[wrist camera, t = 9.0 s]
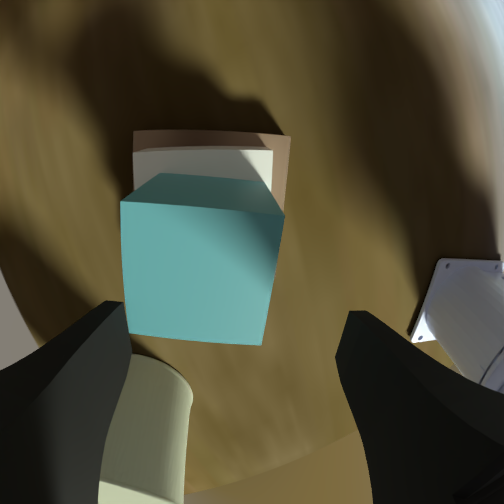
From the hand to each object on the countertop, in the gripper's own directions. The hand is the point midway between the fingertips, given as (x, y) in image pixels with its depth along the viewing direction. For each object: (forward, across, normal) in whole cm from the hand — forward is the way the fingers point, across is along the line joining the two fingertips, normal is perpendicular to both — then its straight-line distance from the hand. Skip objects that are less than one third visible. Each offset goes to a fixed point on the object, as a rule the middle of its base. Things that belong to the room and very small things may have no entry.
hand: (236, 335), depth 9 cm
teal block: (+5, +1, -2) cm, 6 cm away
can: (+10, +8, +15) cm, 20 cm away
